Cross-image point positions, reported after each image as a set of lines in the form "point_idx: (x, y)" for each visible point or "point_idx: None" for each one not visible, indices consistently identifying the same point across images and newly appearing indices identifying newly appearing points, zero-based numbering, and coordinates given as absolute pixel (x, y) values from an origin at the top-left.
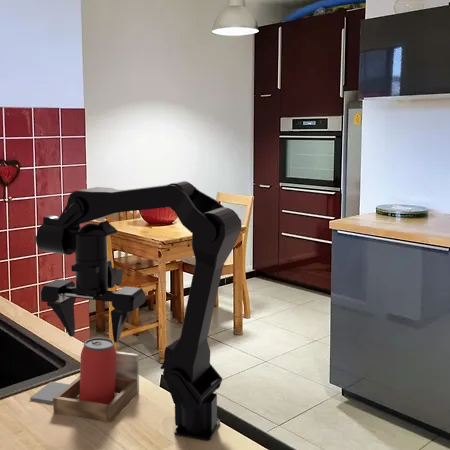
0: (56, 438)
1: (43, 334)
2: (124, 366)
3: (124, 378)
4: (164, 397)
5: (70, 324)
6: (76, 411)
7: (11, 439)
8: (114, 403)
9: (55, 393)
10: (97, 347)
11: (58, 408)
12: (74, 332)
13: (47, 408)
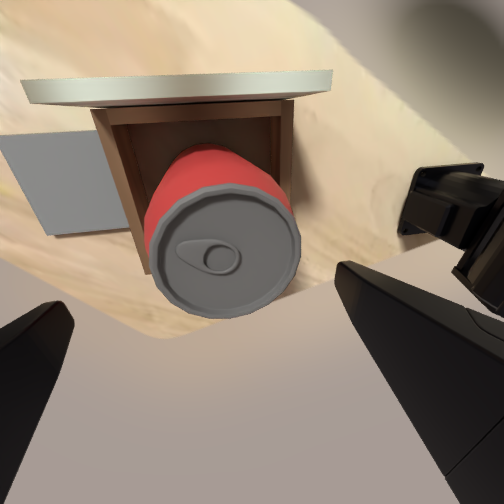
0: None
1: None
2: (257, 97)
3: (251, 105)
4: (355, 93)
5: (23, 403)
6: None
7: (157, 332)
8: None
9: (84, 196)
10: (242, 285)
11: None
12: (52, 309)
13: (123, 245)
